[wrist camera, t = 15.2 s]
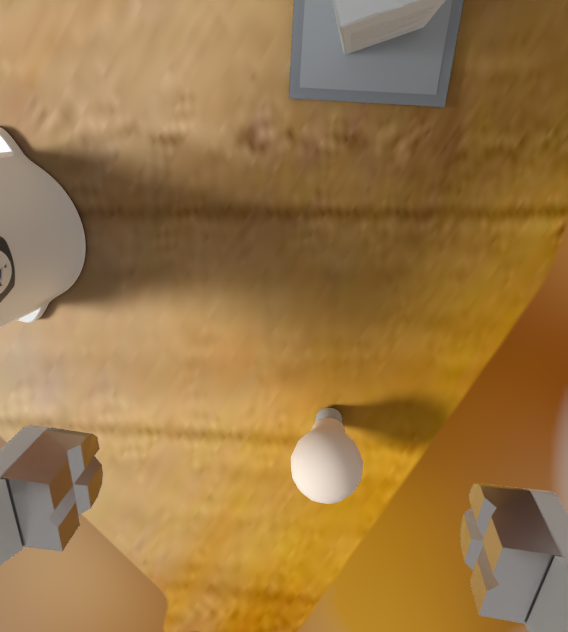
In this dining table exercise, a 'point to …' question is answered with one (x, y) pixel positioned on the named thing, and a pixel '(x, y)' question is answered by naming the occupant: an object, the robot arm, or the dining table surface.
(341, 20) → the skincare box
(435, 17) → the plate
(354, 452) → the light bulb
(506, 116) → the dining table surface
